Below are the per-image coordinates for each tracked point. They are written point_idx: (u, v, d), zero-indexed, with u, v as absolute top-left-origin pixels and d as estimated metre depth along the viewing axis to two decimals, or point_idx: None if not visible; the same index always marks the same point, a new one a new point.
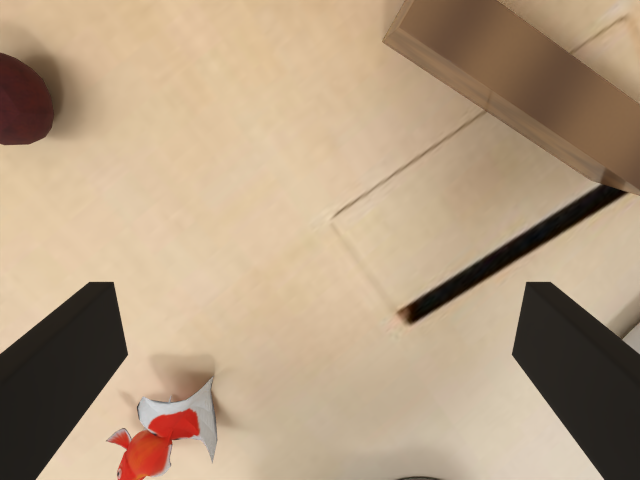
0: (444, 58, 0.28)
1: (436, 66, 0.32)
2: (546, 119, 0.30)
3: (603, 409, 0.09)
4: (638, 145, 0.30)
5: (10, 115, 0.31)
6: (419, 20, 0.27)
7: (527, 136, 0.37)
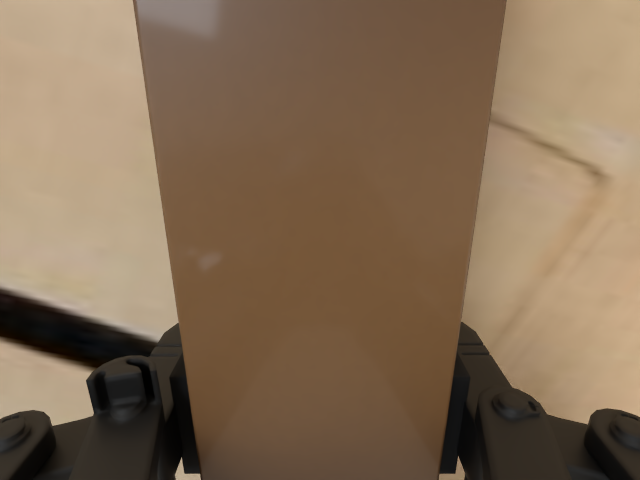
0: None
1: None
2: None
3: None
4: (326, 430, 0.07)
5: None
6: None
7: None
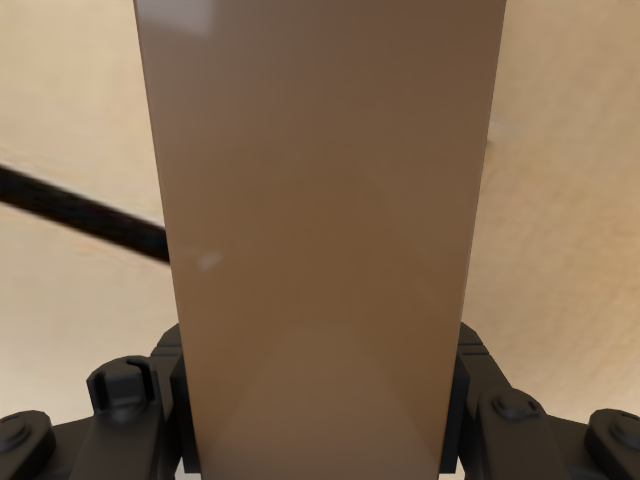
0: None
1: None
2: None
3: None
4: (326, 430, 0.07)
5: None
6: None
7: None
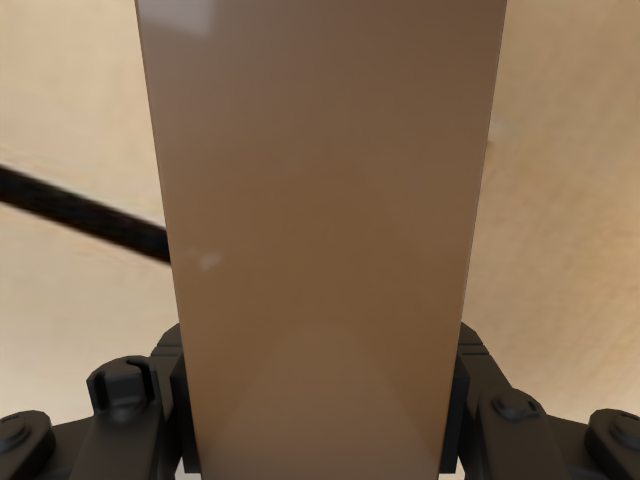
0: None
1: None
2: None
3: None
4: (326, 429, 0.07)
5: None
6: None
7: None
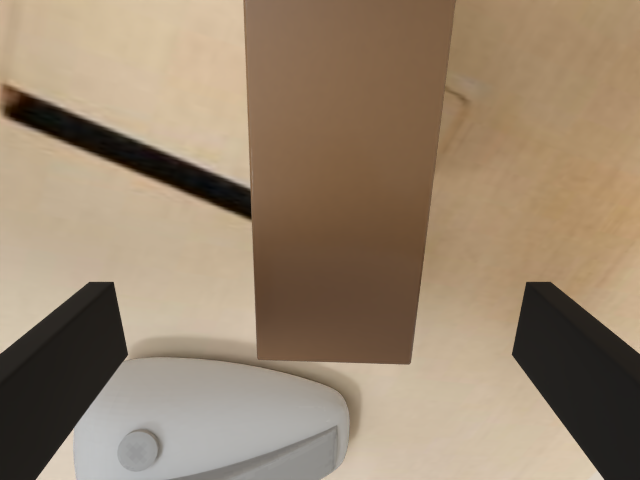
0: None
1: None
2: None
3: (603, 409, 0.09)
4: (344, 226, 0.11)
5: None
6: None
7: None
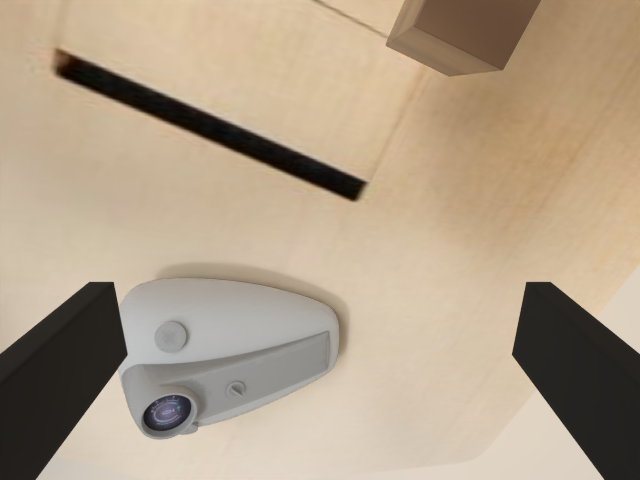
0: None
1: None
2: None
3: (603, 409, 0.09)
4: None
5: None
6: None
7: None
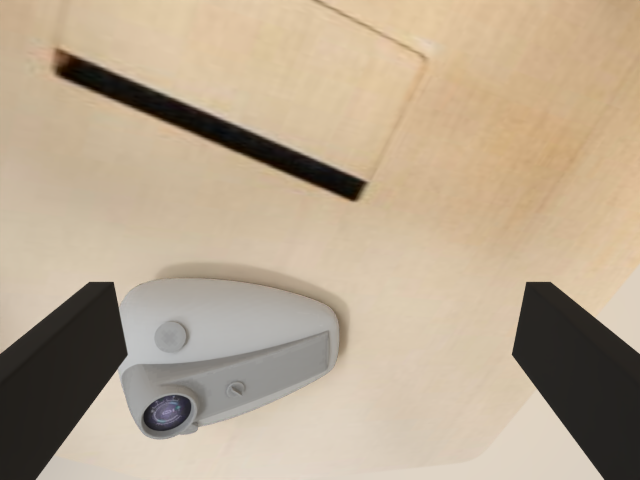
0: None
1: None
2: None
3: (603, 409, 0.09)
4: None
5: None
6: None
7: None
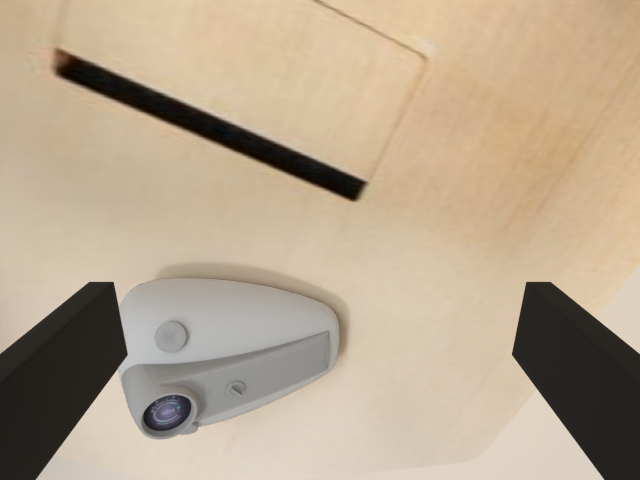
0: None
1: None
2: None
3: (603, 409, 0.09)
4: None
5: None
6: None
7: None
